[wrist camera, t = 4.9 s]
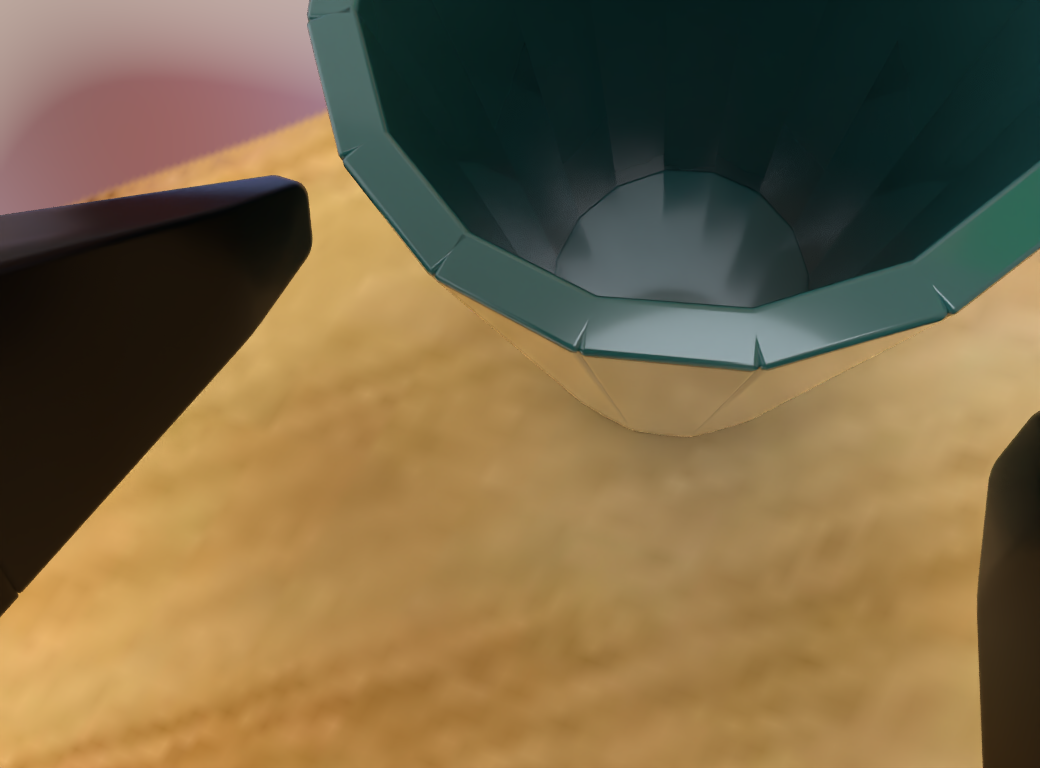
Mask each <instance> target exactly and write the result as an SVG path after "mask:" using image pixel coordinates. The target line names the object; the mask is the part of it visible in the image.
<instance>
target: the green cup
mask: <svg viewBox="0 0 1040 768" xmlns="http://www.w3.org/2000/svg"><path fill="white" fill-rule="evenodd" d="M307 16H308V21H309V22H308V24H307V27H308V32H309V36H310V40H311V44H312V48H313V52H314V56H315V60H316V64H317V68H318V72H319V77H320V81H321V85H322V89H323V93H324V97H325V101H326V105H327V110H328V114H329V118H330V122H331V126H332V130H333V134H334V138H335V142H336V146H337V150H338V154H339V156H340V158H341V159H342V160H343V163H344V167H345V168H346V169H347V171H348V172H349V173H350V174H351V176H352V177H353V178H354V180H355V181H356V182H357V183H358V185H359V186H360V187H361V189H362V190H363V191H364V192H365V194H366V195H367V196H368V198H369V199H370V200H371V201H372V203H373V204H374V205H375V206H376V208H377V209H378V210H379V212H380V213H381V214H382V215H383V217H384V218H385V219H386V221H387V222H388V223H389V224H390V226H391V227H392V228H393V230H394V231H395V232H396V233H397V235H398V236H399V237H400V238H401V240H402V241H403V242H404V244H405V245H406V246H407V247H408V249H409V250H410V251H411V253H412V254H413V255H414V256H415V258H416V259H417V260H418V262H419V263H420V264H421V265H422V267H423V268H424V269H425V270H426V272H427V273H428V274H429V275H430V276H431V277H433V278H434V279H435V280H436V281H437V282H438V283H440V284H441V285H442V286H443V287H444V288H445V289H447V290H448V291H449V292H450V293H451V294H453V295H454V296H455V297H456V298H457V299H459V300H460V301H461V302H462V303H463V304H464V305H466V306H467V307H468V308H469V309H470V310H472V311H473V312H474V313H475V314H476V315H478V316H479V317H480V318H481V319H482V320H483V321H485V322H486V323H487V324H488V325H489V326H491V327H492V328H493V329H494V330H495V331H497V332H498V333H499V334H500V335H501V336H502V337H504V338H505V339H506V340H507V341H508V342H510V343H511V344H512V345H513V346H514V347H516V348H517V349H518V350H519V351H520V352H521V353H523V354H524V355H525V356H526V357H527V358H529V359H530V360H531V361H532V362H533V363H535V364H536V365H537V366H538V367H539V368H541V369H542V370H543V371H544V372H545V373H546V374H548V375H549V376H550V377H551V378H552V379H554V380H555V381H556V382H557V383H558V384H560V385H561V386H562V387H563V388H564V389H565V390H567V391H568V392H569V393H570V394H571V395H573V396H574V397H575V398H576V399H577V400H579V401H580V402H581V403H582V404H583V405H585V406H587V407H589V408H591V409H593V410H594V411H596V412H598V413H600V414H601V415H603V416H605V417H606V418H608V419H610V420H612V421H614V422H616V423H618V424H620V425H622V426H624V427H625V428H627V429H629V430H633V431H637V432H645V433H651V434H657V435H665V436H682V437H691V436H692V437H695V436H699V435H702V434H706V433H710V432H715V431H719V430H722V429H725V428H728V427H731V426H735V425H738V424H742V423H745V422H748V421H750V420H752V419H754V418H756V417H758V416H760V415H762V414H764V413H766V412H768V411H770V410H772V409H774V408H775V407H777V406H779V405H781V404H783V403H785V402H787V401H789V400H791V399H793V398H795V397H797V396H799V395H801V394H802V393H804V392H806V391H808V390H810V389H812V388H814V387H816V386H818V385H820V384H822V383H824V382H826V381H828V380H829V379H831V378H833V377H835V376H837V375H839V374H841V373H843V372H845V371H847V370H849V369H851V368H853V367H855V366H856V365H858V364H860V363H862V362H864V361H866V360H868V359H870V358H872V357H874V356H876V355H878V354H880V353H882V352H883V351H885V350H887V349H889V348H891V347H893V346H895V345H897V344H899V343H901V342H903V341H905V340H907V339H909V338H910V337H912V336H914V335H916V334H918V333H920V332H922V331H924V330H926V329H928V328H930V327H932V326H934V325H936V324H937V323H939V322H941V321H943V320H945V319H947V318H949V317H951V316H953V315H955V314H957V313H958V312H959V311H961V310H962V309H963V308H965V307H966V306H967V305H968V304H970V303H971V302H972V301H974V300H975V299H976V298H978V297H979V296H980V295H981V294H983V293H984V292H985V291H987V290H988V289H989V288H990V287H992V286H993V285H994V284H996V283H997V282H998V281H1000V280H1001V279H1002V278H1003V277H1005V276H1006V275H1007V274H1009V273H1010V272H1011V271H1012V270H1014V269H1015V268H1016V267H1018V266H1019V265H1020V264H1021V263H1023V262H1024V261H1025V260H1027V259H1028V258H1029V257H1031V256H1032V255H1033V254H1034V253H1036V252H1037V251H1038V250H1040V0H309V6H308V12H307Z"/></svg>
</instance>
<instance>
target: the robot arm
mask: <svg viewBox="0 0 1040 768" xmlns="http://www.w3.org/2000/svg"><path fill="white" fill-rule="evenodd" d="M311 247H312V229H311V220H310V210H309V200H308V193H307V191H306V188H305V187H304V186H303V185H302V184H301V183H299V182H297V181H294V180H290V179H287V178H284V177H281V176H276V175H271V176H264V177H257V178H250V179H244V180H237V181H230V182H223V183H216V184H210V185H203V186H196V187H189V188H182V189H175V190H169V191H162V192H155V193H148V194H141V195H135V196H128V197H121V198H114V199H107V200H101V201H94V202H87V203H80V204H73V205H67V206H60V207H53V208H46V209H39V210H33V211H26V212H19V213H12V214H5V215H0V617H1V616H2V615H3V613H4V612H5V611H6V610H7V609H8V608H9V607H10V606H11V604H12V603H13V602H14V601H15V600H16V599H17V598H18V593H21V592H22V591H23V590H24V589H25V588H26V587H27V586H28V585H29V584H30V583H31V581H32V580H33V579H34V578H35V577H36V576H37V575H38V574H39V573H40V571H41V570H42V569H43V568H44V567H45V566H46V565H47V564H48V562H49V561H50V560H51V559H52V558H53V557H54V556H55V555H56V554H57V552H58V551H59V550H60V549H61V548H62V547H63V546H64V545H65V543H66V542H67V541H68V540H69V539H70V538H71V537H72V536H73V535H74V533H75V532H76V531H77V530H78V529H79V528H80V527H81V526H82V524H83V523H84V522H85V521H86V520H87V519H88V518H89V517H90V516H91V514H92V513H93V512H94V511H95V510H96V509H97V508H98V507H99V505H100V504H101V503H102V502H103V501H104V500H105V499H106V498H107V497H108V495H109V494H110V493H111V492H112V491H113V490H114V489H115V488H116V487H117V485H118V484H119V483H120V482H121V481H122V480H123V479H124V478H125V476H126V475H127V474H128V473H129V472H130V471H131V470H132V469H133V468H134V466H135V465H136V464H137V463H138V462H139V461H140V460H141V459H142V457H143V456H144V455H145V454H146V453H147V452H148V451H149V450H150V449H151V447H152V446H153V445H154V444H155V443H156V442H157V441H158V440H159V438H160V437H161V436H162V435H163V434H164V433H165V432H166V431H167V430H168V428H169V427H170V426H171V425H172V424H173V423H174V422H175V421H176V420H177V418H178V417H179V416H180V415H181V414H182V413H183V412H184V411H185V409H186V408H187V407H188V406H189V405H190V404H191V403H192V402H193V401H194V399H195V398H196V397H197V396H198V395H199V394H200V393H201V392H202V390H203V389H204V388H205V387H206V386H207V385H208V384H209V383H210V382H211V380H212V379H213V378H214V377H215V376H216V375H217V374H218V373H219V371H220V370H221V369H222V368H223V367H224V366H225V365H226V364H227V363H228V361H229V360H230V359H231V358H232V357H233V356H234V355H235V354H236V352H237V351H238V350H239V349H240V348H241V347H242V346H243V345H244V343H245V342H246V341H247V340H248V339H249V337H250V336H251V335H252V334H253V332H254V331H255V330H256V328H257V327H258V326H259V324H260V323H261V322H262V320H263V319H264V318H265V316H266V315H267V313H268V312H269V311H270V309H271V308H272V306H273V305H274V304H275V302H276V301H277V299H278V298H279V297H280V295H281V294H282V292H283V291H284V290H285V288H286V287H287V285H288V284H289V282H290V281H291V280H292V278H293V277H294V275H295V274H296V273H297V271H298V270H299V268H300V267H301V266H302V264H303V263H304V261H305V260H306V259H307V257H308V255H309V253H310V250H311ZM977 624H978V651H979V677H980V704H981V731H982V757H983V768H1040V411H1038V412H1037V413H1036V414H1034V415H1033V416H1032V417H1031V418H1030V419H1029V420H1028V422H1027V423H1026V424H1025V425H1024V426H1023V428H1022V429H1021V430H1020V431H1019V433H1018V434H1017V435H1016V436H1015V438H1014V439H1013V440H1012V441H1011V443H1010V444H1009V445H1008V446H1007V448H1006V449H1005V450H1004V451H1003V453H1002V454H1001V455H1000V456H999V458H998V459H997V460H996V462H995V464H994V466H993V468H992V470H991V473H990V477H989V482H988V492H987V501H986V511H985V520H984V530H983V539H982V549H981V558H980V568H979V577H978V592H977Z"/></svg>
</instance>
